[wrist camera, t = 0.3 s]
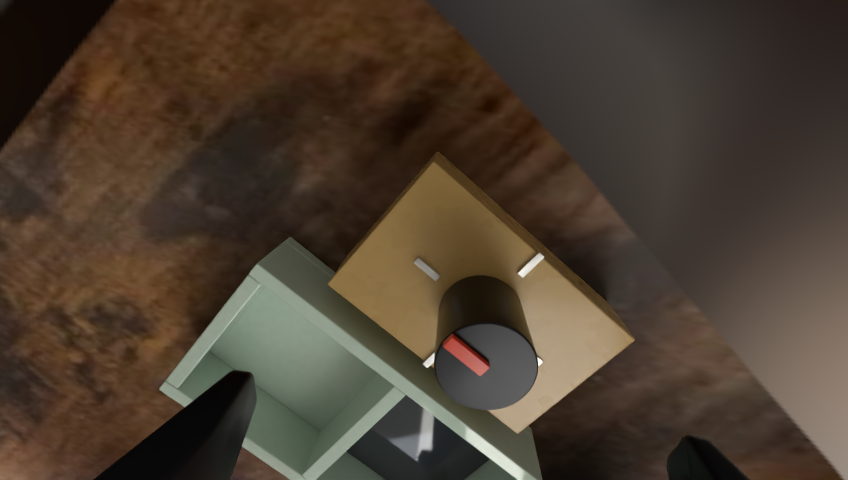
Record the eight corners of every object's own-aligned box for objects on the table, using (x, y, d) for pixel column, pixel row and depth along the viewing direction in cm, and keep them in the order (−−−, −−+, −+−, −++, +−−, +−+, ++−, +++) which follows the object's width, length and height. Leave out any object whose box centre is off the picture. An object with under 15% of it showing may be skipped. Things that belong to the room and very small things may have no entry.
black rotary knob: (539, 310, 20) (563, 371, 16) (481, 362, 21) (488, 433, 17) (478, 258, 20) (484, 305, 15) (422, 314, 21) (412, 374, 16)
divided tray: (429, 509, 30) (424, 573, 26) (202, 346, 27) (157, 389, 23) (531, 427, 27) (544, 485, 23) (290, 235, 24) (256, 263, 20)
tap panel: (609, 301, 24) (639, 340, 20) (508, 388, 26) (516, 438, 22) (438, 148, 22) (434, 159, 18) (345, 257, 24) (324, 287, 21)
